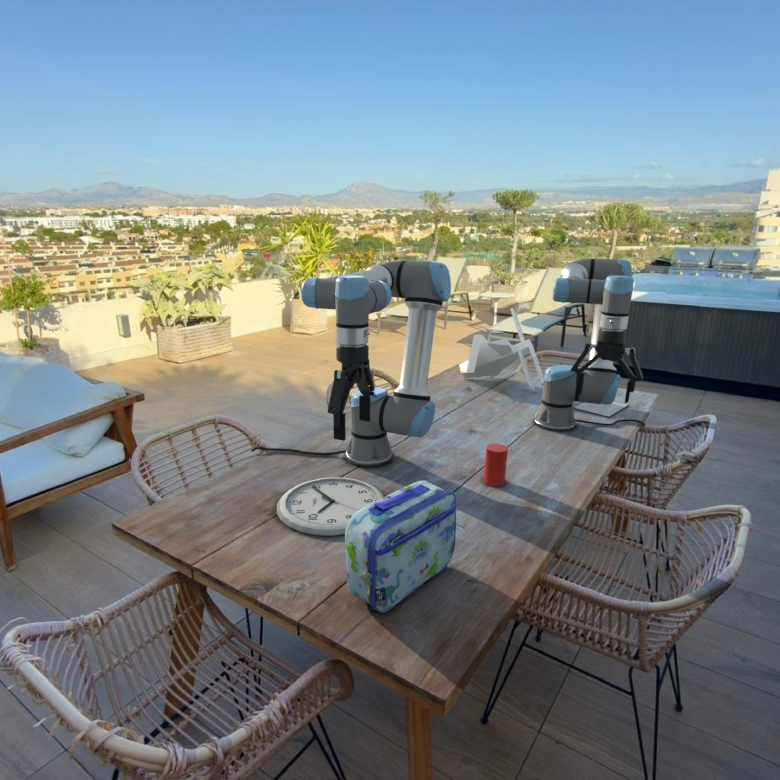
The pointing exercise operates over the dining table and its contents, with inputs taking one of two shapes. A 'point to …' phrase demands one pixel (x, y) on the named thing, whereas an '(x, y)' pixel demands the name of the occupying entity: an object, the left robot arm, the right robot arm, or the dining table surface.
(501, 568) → the dining table surface
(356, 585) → the lunch box
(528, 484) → the dining table surface
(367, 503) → the wall clock
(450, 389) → the dining table surface
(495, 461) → the can
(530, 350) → the white plastic object
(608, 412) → the invitation card
